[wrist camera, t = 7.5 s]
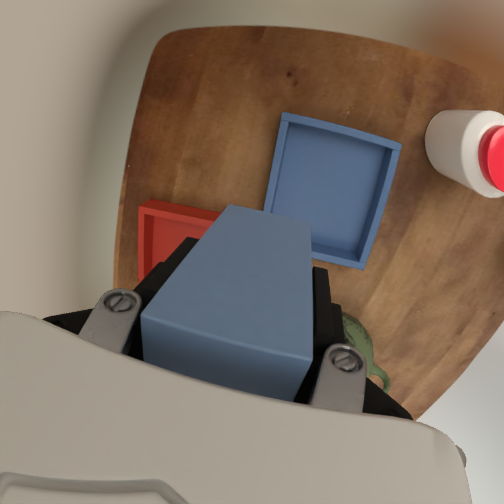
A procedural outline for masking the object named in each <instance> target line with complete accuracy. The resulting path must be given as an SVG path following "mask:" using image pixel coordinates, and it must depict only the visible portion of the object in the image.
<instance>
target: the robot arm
mask: <svg viewBox="0 0 504 504" xmlns="http://www.w3.org/2000/svg"><path fill="white" fill-rule="evenodd" d="M199 240H200V239H197V238H193V237H186V238H185V239H184V241H183V242H182V243H181V244H180V245H179V246H178V247H177V248H176V249H175V250H174V251H173V253H172V254H171V255H170V256H169V257H168V258H167V259H166V260H165V261H164V262H159V263H158V264H157V265H156V266H155V267H154V268H153V269H152V270H151V271H150V272H149V273H148V274H147V276H146V277H145V278H144V279H143V280H142V281H141V282H140V283H139V284H138V285H137V287H136V288H135V289H134V290H133V291H132V290H129V289H123V288H119V289H113V290H110V291H108V292H106V293H104V294H103V295H102V296H101V298H100V299H99V301H98V303H97V304H96V306H95V308H93V309H88V310H83V311H77V312H71V313H66V314H61V315H55V316H50V317H46V318H44V319H42V320H41V319H38V318H36V317H33V316H30V315H26V314H22V313H17V312H9V311H1V312H0V504H472V500H471V494H470V489H469V484H468V480H467V476H466V472H465V466H466V457H465V454H464V452H463V451H462V449H460V448H459V447H458V446H456V445H455V444H454V442H453V441H452V440H451V439H450V438H449V437H448V436H447V435H446V434H444V433H443V432H441V431H439V430H437V429H436V428H433V427H431V426H428V425H426V424H423V423H420V422H416V421H413V418H412V417H411V415H410V414H409V413H408V411H407V410H405V409H404V408H403V407H402V406H401V405H399V404H398V403H397V402H396V401H395V400H394V399H392V398H391V397H390V396H389V395H388V394H386V393H385V392H384V391H383V390H382V389H380V388H379V387H378V386H377V385H376V384H375V383H373V382H372V381H371V380H370V379H369V378H367V377H366V374H367V360H366V358H365V357H364V355H363V354H362V353H361V352H360V351H359V350H358V349H356V348H355V347H352V346H350V345H347V344H346V342H345V334H344V326H343V318H342V311H341V306H340V305H338V304H334V303H331V296H330V287H329V278H328V270H327V269H323V268H319V267H315V266H314V267H313V269H312V287H313V360H312V363H311V365H310V367H309V369H308V371H307V373H306V376H305V378H304V380H303V382H302V384H301V386H300V388H299V390H298V392H297V394H296V396H295V398H294V400H293V402H289V401H284V400H279V399H274V398H270V397H265V396H261V395H256V394H252V393H248V392H243V391H239V390H235V389H231V388H227V387H224V386H220V385H216V384H212V383H209V382H205V381H202V380H198V379H195V378H192V377H188V376H185V375H182V374H179V373H176V372H173V371H169V370H166V369H163V368H160V367H158V366H155V365H152V364H149V363H146V362H144V358H143V347H142V333H141V317H140V316H141V313H142V312H143V311H144V309H145V308H146V307H147V305H148V304H149V303H150V301H151V300H152V299H153V298H154V296H155V295H156V294H157V292H158V291H159V290H160V288H161V287H162V286H163V285H164V283H165V282H166V281H167V280H168V278H169V277H170V276H171V274H172V273H173V272H174V271H175V269H176V268H177V267H178V266H179V264H180V263H181V262H182V261H183V259H184V258H185V257H186V256H187V254H188V253H189V252H190V251H191V250H192V248H193V247H194V246H195V245H196V243H197V242H198V241H199Z"/></svg>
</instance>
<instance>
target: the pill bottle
mask: <svg viewBox="0 0 504 504" xmlns="http://www.w3.org/2000/svg"><path fill="white" fill-rule="evenodd" d="M425 148H426V153H427V156H428V158H429V161H430V162H431V164H432V166H433V167H434V168H435V169H436V170H437V171H438V172H439V173H440V174H442V175H444V176H446V177H448V178H450V179H452V180H454V181H456V182H458V183H460V184H462V185H464V186H465V187H467V188H469V189H471V190H473V191H475V192H477V193H479V194H480V195H482V196H485V197H488V198H498V197H502V196H504V116H503V115H502V114H500V113H497V112H495V111H488V110H444V111H442V112H439V113H438V114H437V115H435V116H434V117H433V118H432V120H431V121H430V123H429V125H428V127H427V130H426V134H425Z"/></svg>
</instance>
